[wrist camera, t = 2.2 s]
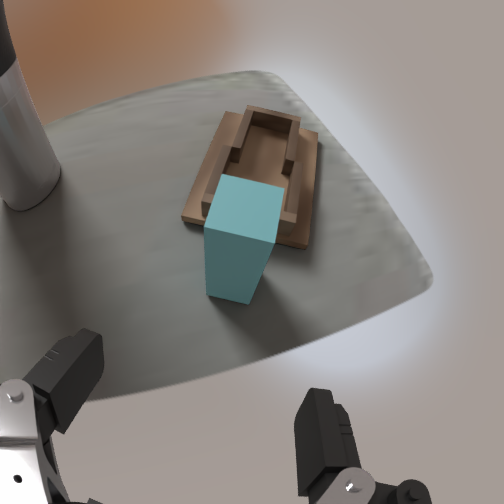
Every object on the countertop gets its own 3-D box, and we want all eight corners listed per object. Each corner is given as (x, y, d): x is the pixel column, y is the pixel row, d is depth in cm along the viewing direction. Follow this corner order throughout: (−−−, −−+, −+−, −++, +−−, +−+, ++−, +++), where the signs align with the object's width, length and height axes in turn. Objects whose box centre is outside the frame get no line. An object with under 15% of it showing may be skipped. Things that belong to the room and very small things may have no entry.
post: (206, 294, 27) (203, 226, 16) (216, 256, 29) (221, 173, 18) (249, 304, 27) (274, 243, 16) (257, 265, 29) (284, 188, 18)
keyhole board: (182, 220, 30) (179, 200, 27) (225, 116, 38) (226, 97, 35) (305, 249, 30) (315, 232, 27) (316, 138, 39) (323, 119, 35)
